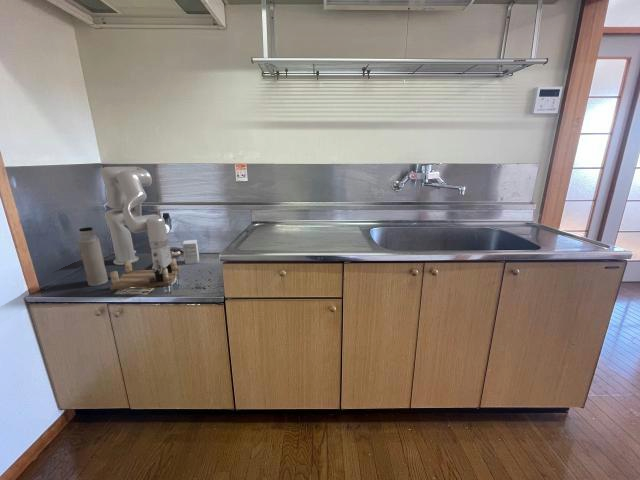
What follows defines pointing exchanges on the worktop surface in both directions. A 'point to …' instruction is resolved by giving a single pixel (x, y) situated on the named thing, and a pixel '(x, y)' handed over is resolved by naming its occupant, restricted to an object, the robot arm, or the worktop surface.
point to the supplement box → (190, 251)
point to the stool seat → (140, 277)
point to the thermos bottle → (92, 257)
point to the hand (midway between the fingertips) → (164, 276)
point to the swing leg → (165, 276)
